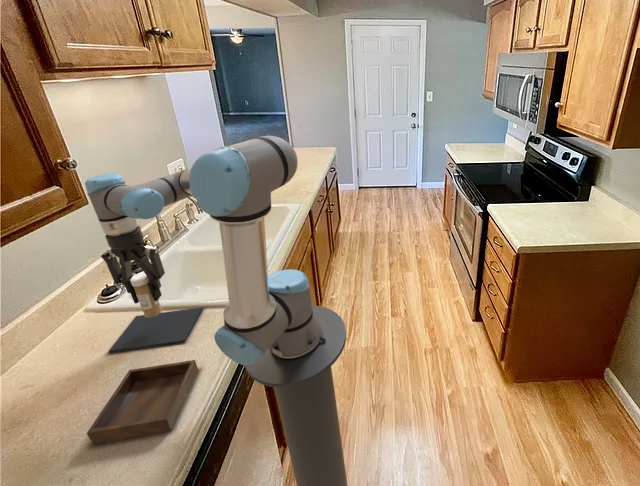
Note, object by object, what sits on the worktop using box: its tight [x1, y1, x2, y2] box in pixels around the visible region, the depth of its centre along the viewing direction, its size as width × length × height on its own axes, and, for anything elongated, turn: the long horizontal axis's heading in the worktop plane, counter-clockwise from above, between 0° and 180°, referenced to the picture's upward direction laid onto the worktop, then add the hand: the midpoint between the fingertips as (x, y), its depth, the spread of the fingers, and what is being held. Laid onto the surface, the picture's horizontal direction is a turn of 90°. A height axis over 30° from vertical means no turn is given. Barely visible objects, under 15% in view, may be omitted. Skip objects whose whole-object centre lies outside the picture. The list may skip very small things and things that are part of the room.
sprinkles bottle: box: [130, 271, 163, 318], centre depth 97 cm, size 5×5×13 cm
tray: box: [86, 359, 199, 446], centre depth 79 cm, size 16×16×4 cm
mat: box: [108, 307, 204, 354], centre depth 102 cm, size 20×14×1 cm
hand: (148, 299), depth 98 cm, fingers closed on sprinkles bottle, 5 cm apart
